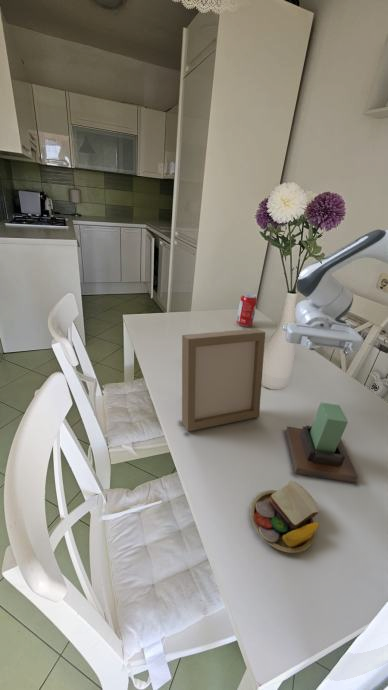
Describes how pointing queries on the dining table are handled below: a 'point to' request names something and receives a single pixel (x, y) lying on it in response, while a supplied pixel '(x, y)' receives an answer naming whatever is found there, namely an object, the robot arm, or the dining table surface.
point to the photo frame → (221, 377)
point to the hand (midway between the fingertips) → (330, 350)
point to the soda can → (247, 309)
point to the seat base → (318, 457)
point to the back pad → (328, 428)
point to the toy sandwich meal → (285, 517)
